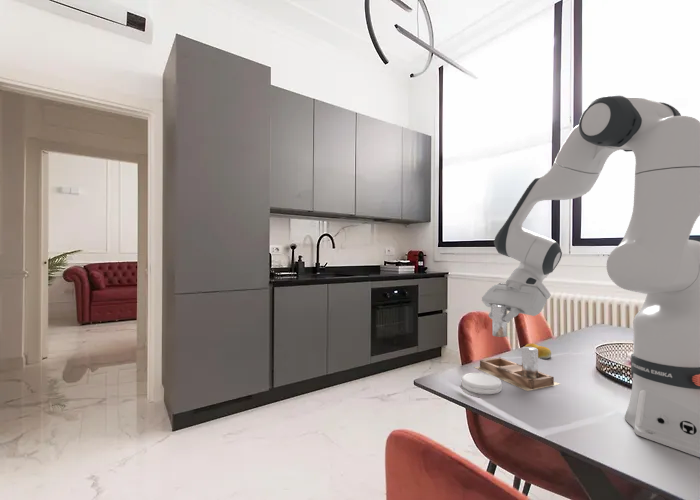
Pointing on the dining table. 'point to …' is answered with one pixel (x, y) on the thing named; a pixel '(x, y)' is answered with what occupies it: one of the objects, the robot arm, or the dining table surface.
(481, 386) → the coaster
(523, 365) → the seated billet
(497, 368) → the wooden compartment tray
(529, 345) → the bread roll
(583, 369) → the dining table surface
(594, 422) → the dining table surface
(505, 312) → the glass pepper shaker
